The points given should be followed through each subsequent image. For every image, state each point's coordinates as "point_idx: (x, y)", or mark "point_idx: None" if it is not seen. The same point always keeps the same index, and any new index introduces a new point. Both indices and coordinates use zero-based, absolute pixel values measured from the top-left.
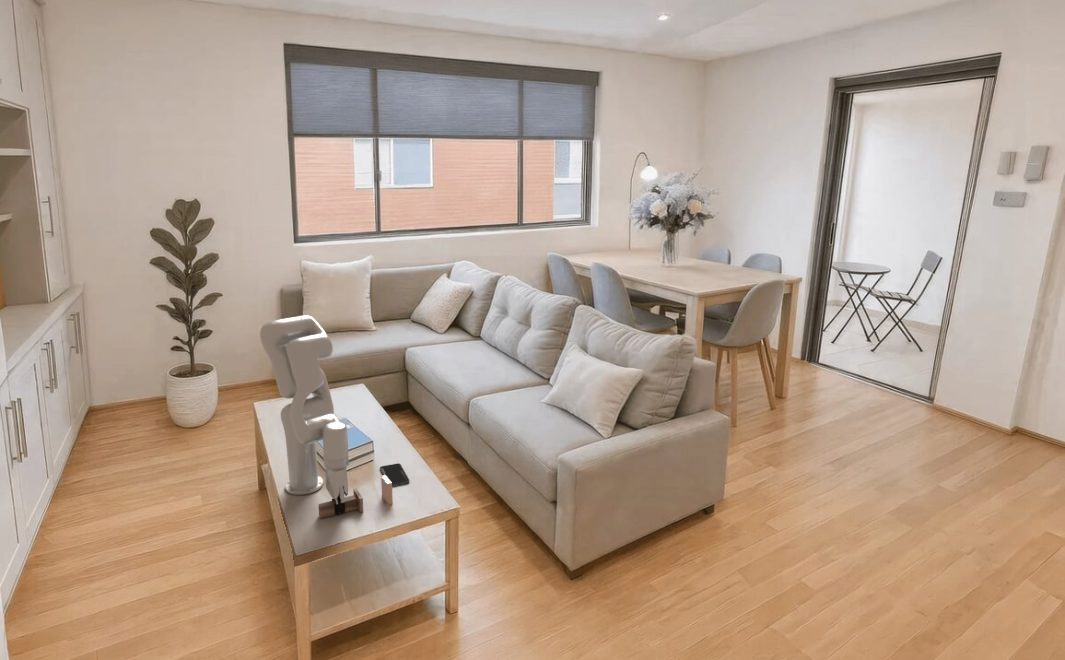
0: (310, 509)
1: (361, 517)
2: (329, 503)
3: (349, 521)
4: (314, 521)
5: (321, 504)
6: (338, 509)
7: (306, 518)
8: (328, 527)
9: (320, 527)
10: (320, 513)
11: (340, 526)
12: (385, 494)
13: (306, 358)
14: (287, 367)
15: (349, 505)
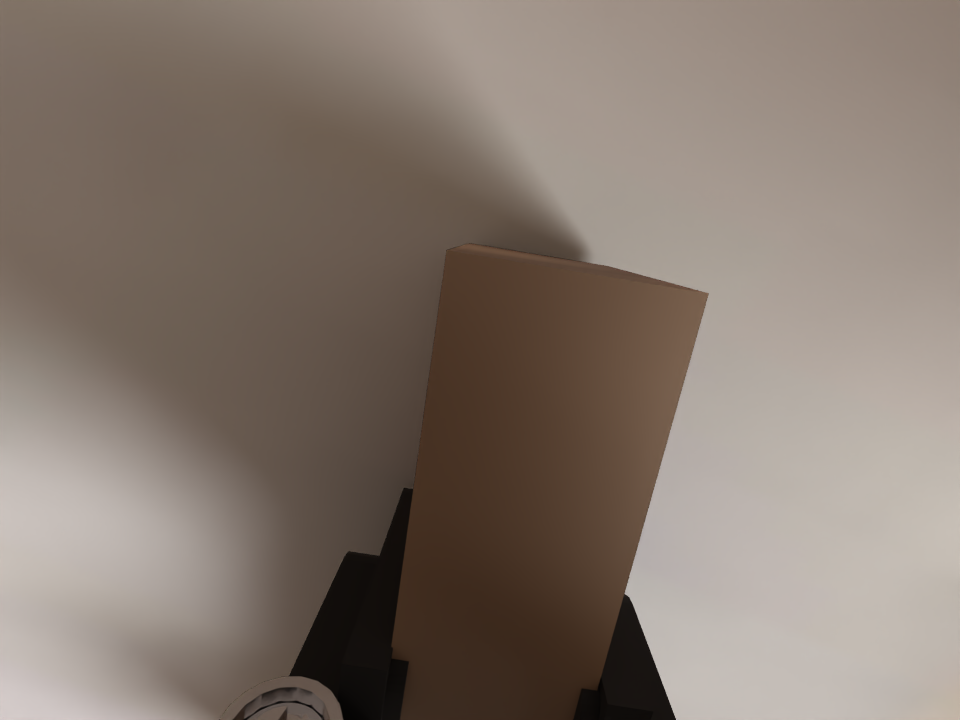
0: (912, 225)
1: (171, 713)
2: (508, 568)
3: (153, 564)
4: (478, 114)
5: (618, 366)
6: (326, 598)
7: (682, 23)
8: (144, 242)
9: (216, 122)
10: (474, 246)
11: (79, 410)
12: None
13: None
14: None
15: None
